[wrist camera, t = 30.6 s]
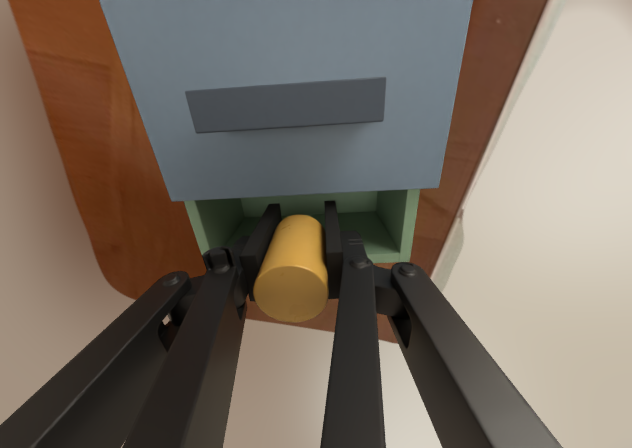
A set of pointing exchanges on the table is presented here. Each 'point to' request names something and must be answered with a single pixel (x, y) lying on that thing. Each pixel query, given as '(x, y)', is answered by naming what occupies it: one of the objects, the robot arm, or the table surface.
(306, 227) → the peg
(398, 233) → the bin
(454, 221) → the table surface
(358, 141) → the lid
